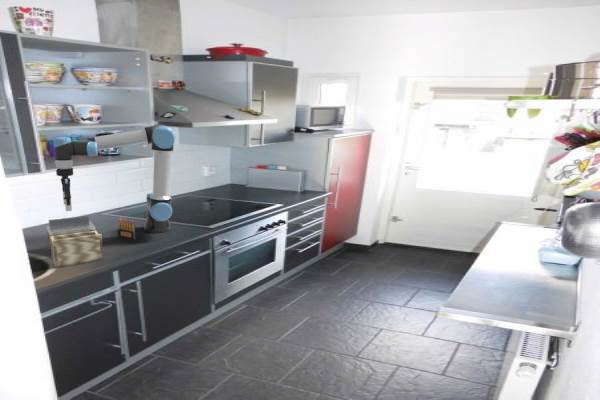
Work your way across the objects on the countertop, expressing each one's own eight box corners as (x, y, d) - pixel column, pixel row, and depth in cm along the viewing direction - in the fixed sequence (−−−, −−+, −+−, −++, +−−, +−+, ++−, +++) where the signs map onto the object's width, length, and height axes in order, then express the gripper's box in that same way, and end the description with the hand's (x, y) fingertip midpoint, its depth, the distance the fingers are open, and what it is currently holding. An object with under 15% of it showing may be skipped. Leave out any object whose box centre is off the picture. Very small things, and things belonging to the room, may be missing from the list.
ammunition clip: (118, 237, 228) (117, 217, 225) (120, 236, 230) (119, 216, 227) (133, 240, 226) (133, 220, 222) (135, 239, 227) (135, 219, 224)
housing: (92, 241, 218) (90, 218, 215) (103, 259, 197) (101, 234, 194) (48, 248, 206) (46, 223, 203) (55, 268, 185) (53, 241, 182)
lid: (90, 222, 215) (90, 215, 214) (95, 229, 206) (95, 222, 205) (46, 227, 203) (46, 220, 202) (49, 235, 194) (48, 227, 193)
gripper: (54, 163, 211) (58, 202, 216) (57, 172, 191) (61, 214, 196) (70, 163, 215) (73, 200, 220) (75, 172, 195) (78, 213, 200)
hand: (67, 207), depth 208 cm, fingers open, 13 cm apart
